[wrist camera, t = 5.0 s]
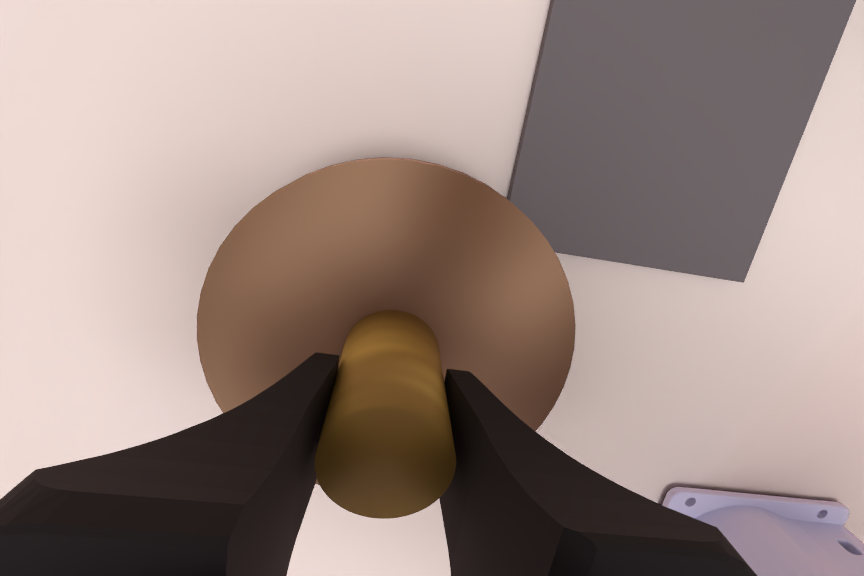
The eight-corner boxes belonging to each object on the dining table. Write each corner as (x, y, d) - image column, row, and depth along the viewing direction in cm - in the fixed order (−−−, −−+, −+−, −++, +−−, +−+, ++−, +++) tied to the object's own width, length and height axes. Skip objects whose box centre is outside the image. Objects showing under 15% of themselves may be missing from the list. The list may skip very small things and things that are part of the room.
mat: (846, -1, 15) (858, -5, 14) (736, 279, 18) (743, 282, 17) (566, -72, 14) (571, -78, 13) (497, 241, 16) (500, 243, 16)
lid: (620, 212, 13) (761, 271, 8) (504, 498, 16) (548, 663, 11) (227, 108, 11) (82, 96, 6) (195, 450, 15) (89, 618, 10)
